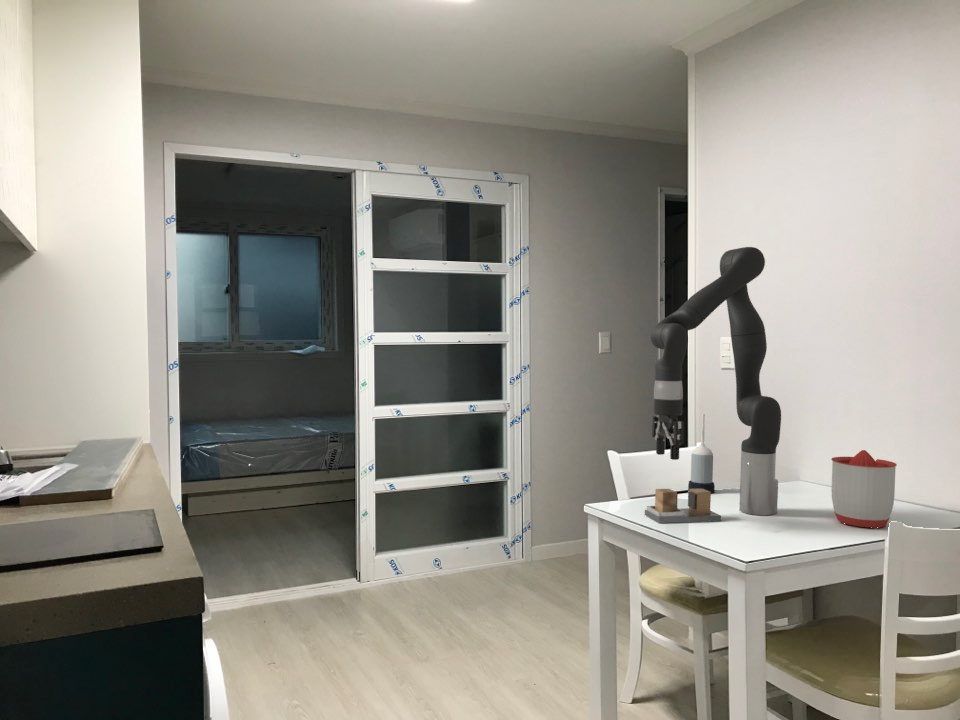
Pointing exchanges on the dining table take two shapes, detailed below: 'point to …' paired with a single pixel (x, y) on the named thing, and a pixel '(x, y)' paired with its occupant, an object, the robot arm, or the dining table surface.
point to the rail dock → (687, 510)
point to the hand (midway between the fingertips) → (667, 456)
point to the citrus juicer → (863, 490)
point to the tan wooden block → (665, 500)
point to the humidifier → (702, 466)
